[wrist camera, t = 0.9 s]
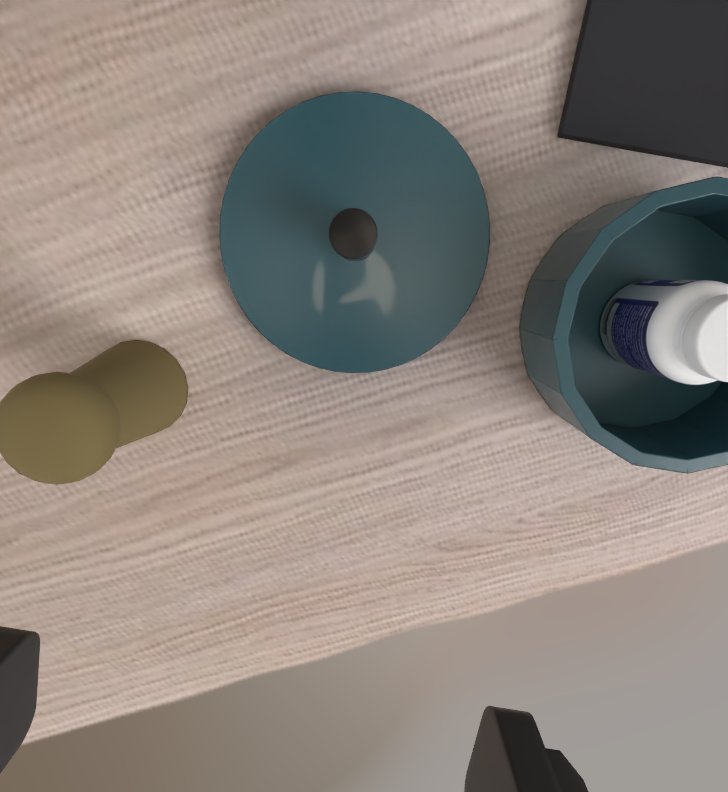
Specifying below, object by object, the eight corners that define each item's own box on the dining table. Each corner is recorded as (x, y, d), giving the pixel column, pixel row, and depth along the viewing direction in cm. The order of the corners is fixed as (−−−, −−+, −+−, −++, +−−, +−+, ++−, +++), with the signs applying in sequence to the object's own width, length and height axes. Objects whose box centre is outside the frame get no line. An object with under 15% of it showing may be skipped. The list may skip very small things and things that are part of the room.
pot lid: (239, 75, 30) (210, 27, 25) (511, 123, 31) (545, 88, 25) (211, 348, 34) (180, 363, 28) (457, 388, 34) (476, 411, 28)
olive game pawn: (206, 377, 34) (133, 425, 23) (155, 451, 35) (63, 529, 24) (123, 320, 33) (8, 341, 22) (74, 397, 34) (-58, 453, 24)
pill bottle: (632, 383, 34) (724, 420, 25) (580, 321, 33) (657, 338, 24) (702, 325, 33) (822, 342, 24) (650, 260, 32) (756, 255, 23)
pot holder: (605, -85, 29) (612, -95, 28) (805, -46, 29) (817, -55, 28) (556, 137, 31) (561, 133, 30) (741, 170, 31) (751, 167, 31)
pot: (551, 178, 31) (596, 154, 25) (792, 220, 32) (893, 207, 26) (497, 417, 35) (526, 448, 28) (717, 452, 35) (792, 490, 29)
